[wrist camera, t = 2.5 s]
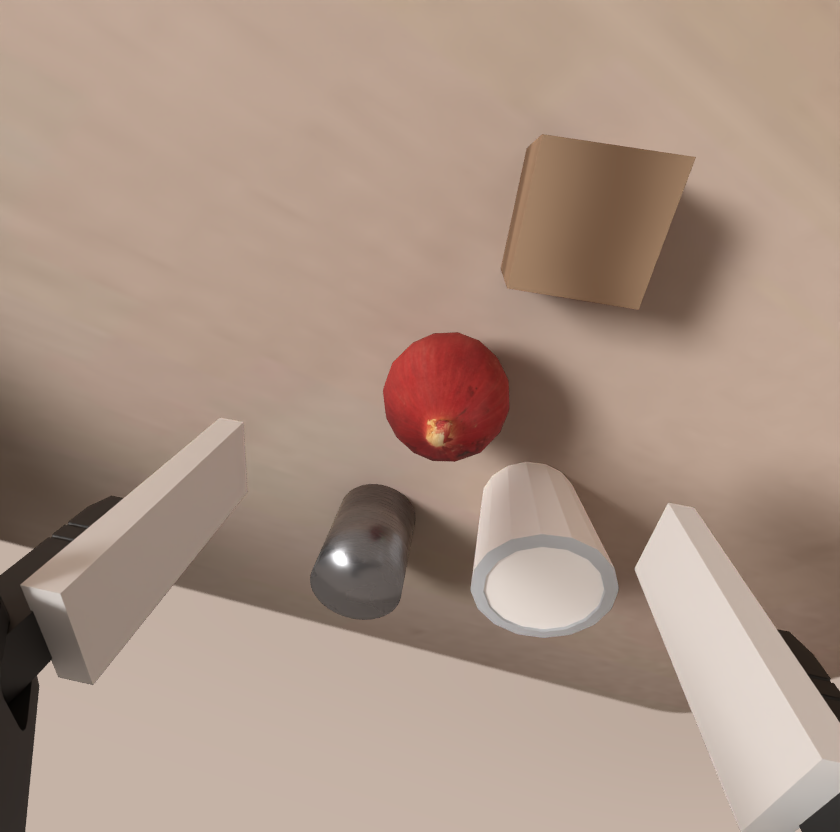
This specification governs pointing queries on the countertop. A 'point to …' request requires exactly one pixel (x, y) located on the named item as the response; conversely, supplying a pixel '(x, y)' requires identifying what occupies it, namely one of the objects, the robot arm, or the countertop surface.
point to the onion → (446, 397)
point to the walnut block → (591, 219)
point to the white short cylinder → (539, 555)
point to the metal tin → (365, 553)
